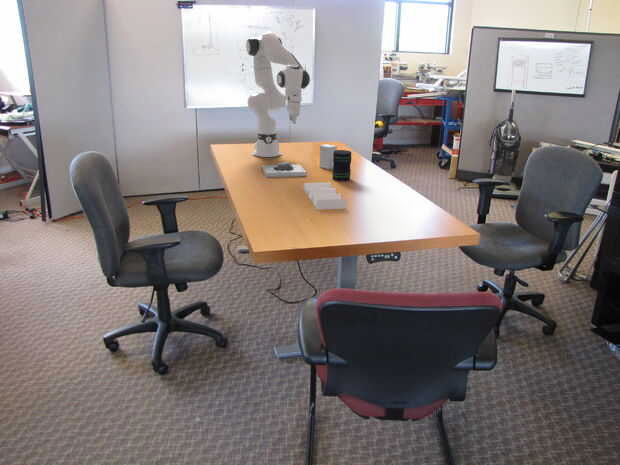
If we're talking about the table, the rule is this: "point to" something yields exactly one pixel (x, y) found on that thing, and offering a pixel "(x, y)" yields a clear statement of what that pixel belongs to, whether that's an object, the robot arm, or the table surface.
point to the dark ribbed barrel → (341, 165)
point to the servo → (283, 166)
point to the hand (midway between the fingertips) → (292, 121)
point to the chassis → (283, 171)
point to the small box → (327, 156)
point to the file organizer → (324, 196)
